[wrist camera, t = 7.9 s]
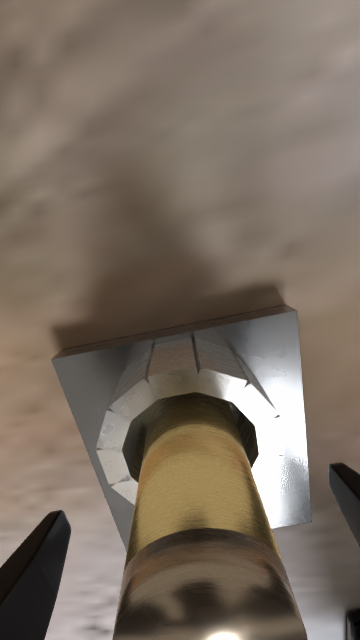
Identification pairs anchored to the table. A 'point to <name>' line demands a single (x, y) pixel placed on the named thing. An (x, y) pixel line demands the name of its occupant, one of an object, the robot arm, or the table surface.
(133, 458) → the plate
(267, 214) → the table surface
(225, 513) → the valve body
